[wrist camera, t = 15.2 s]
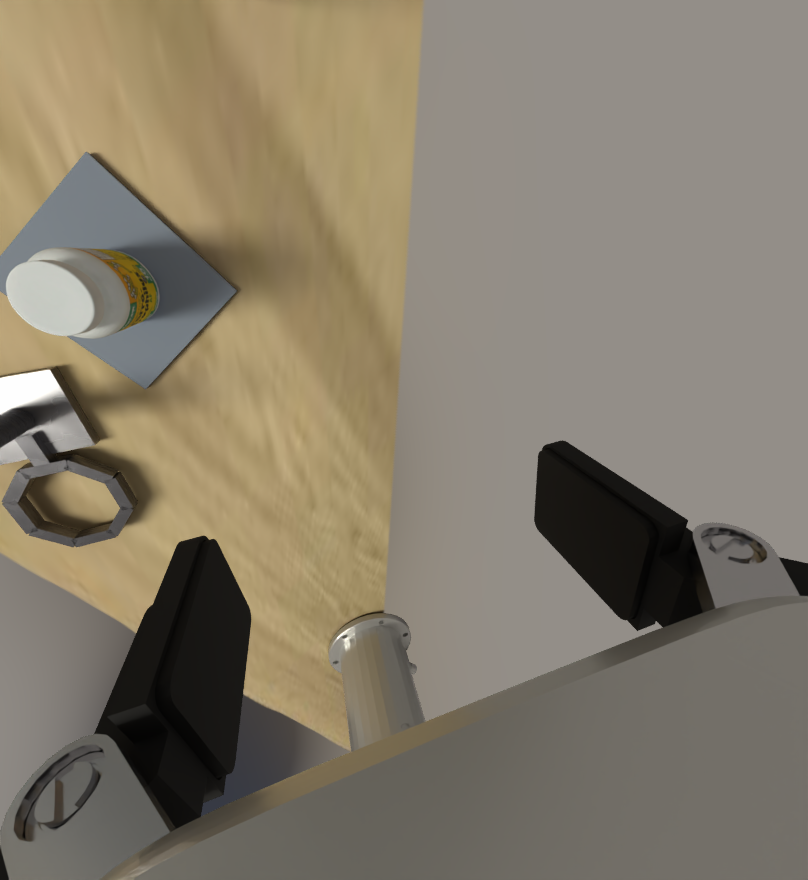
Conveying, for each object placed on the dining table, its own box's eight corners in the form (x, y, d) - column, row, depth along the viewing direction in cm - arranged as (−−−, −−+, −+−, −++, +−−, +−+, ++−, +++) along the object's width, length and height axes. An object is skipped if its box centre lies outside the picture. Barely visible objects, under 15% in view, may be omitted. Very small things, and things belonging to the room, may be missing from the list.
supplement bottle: (77, 240, 26) (-22, 230, 18) (162, 261, 28) (107, 261, 20) (83, 314, 28) (-5, 336, 20) (161, 330, 30) (111, 355, 22)
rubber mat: (237, 290, 31) (236, 291, 31) (147, 387, 32) (145, 389, 32) (89, 153, 25) (86, 151, 25) (-14, 278, 26) (-19, 278, 26)
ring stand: (152, 518, 38) (77, 654, 24) (54, 542, 36) (-82, 703, 23) (63, 365, 30) (-116, 444, 17) (-66, 387, 28) (-377, 494, 15)
